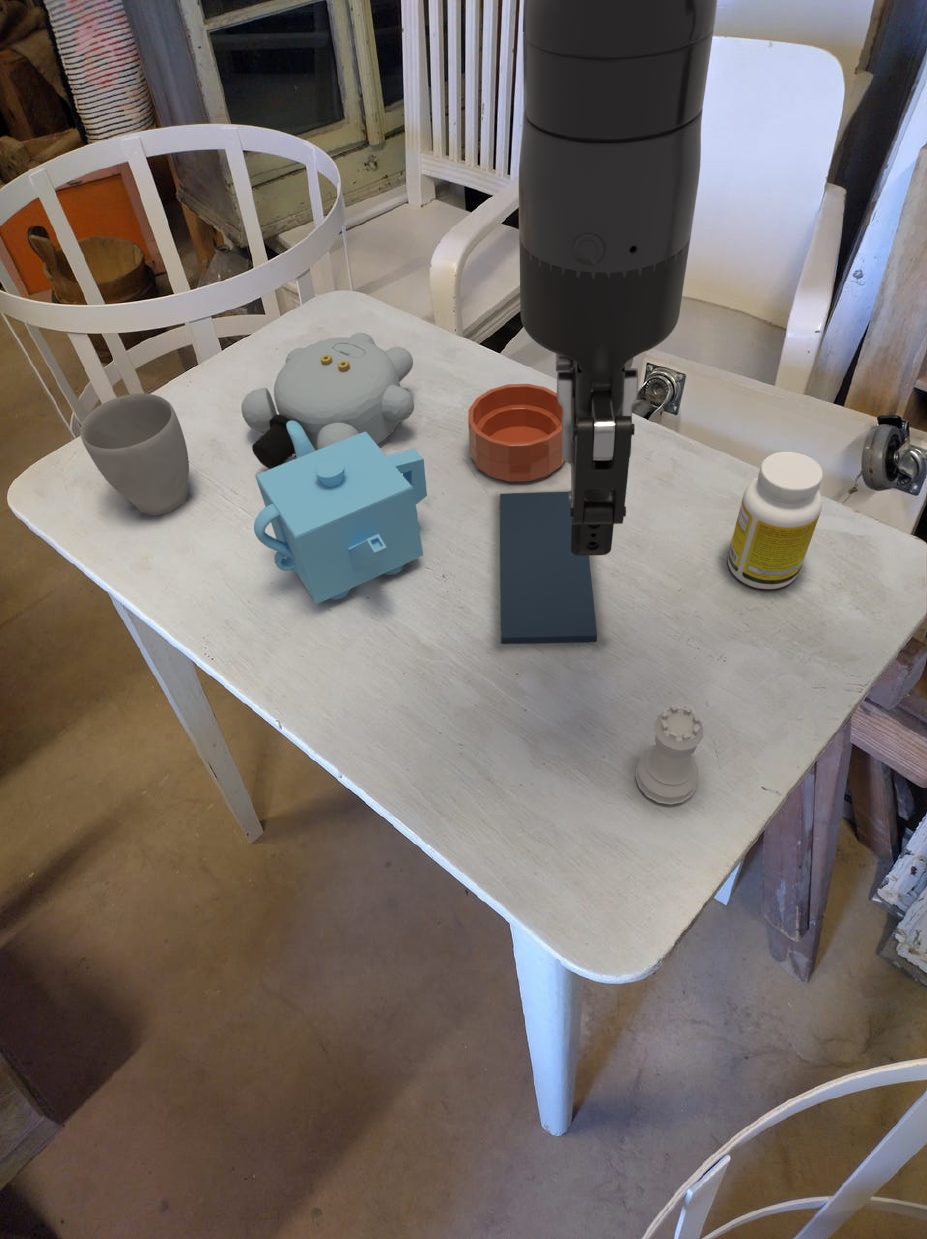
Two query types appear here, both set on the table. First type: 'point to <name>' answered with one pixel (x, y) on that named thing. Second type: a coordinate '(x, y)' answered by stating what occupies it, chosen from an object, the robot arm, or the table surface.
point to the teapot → (342, 512)
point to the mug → (140, 451)
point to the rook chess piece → (671, 757)
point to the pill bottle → (776, 521)
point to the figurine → (331, 396)
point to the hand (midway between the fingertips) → (586, 499)
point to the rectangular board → (542, 572)
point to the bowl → (516, 432)
